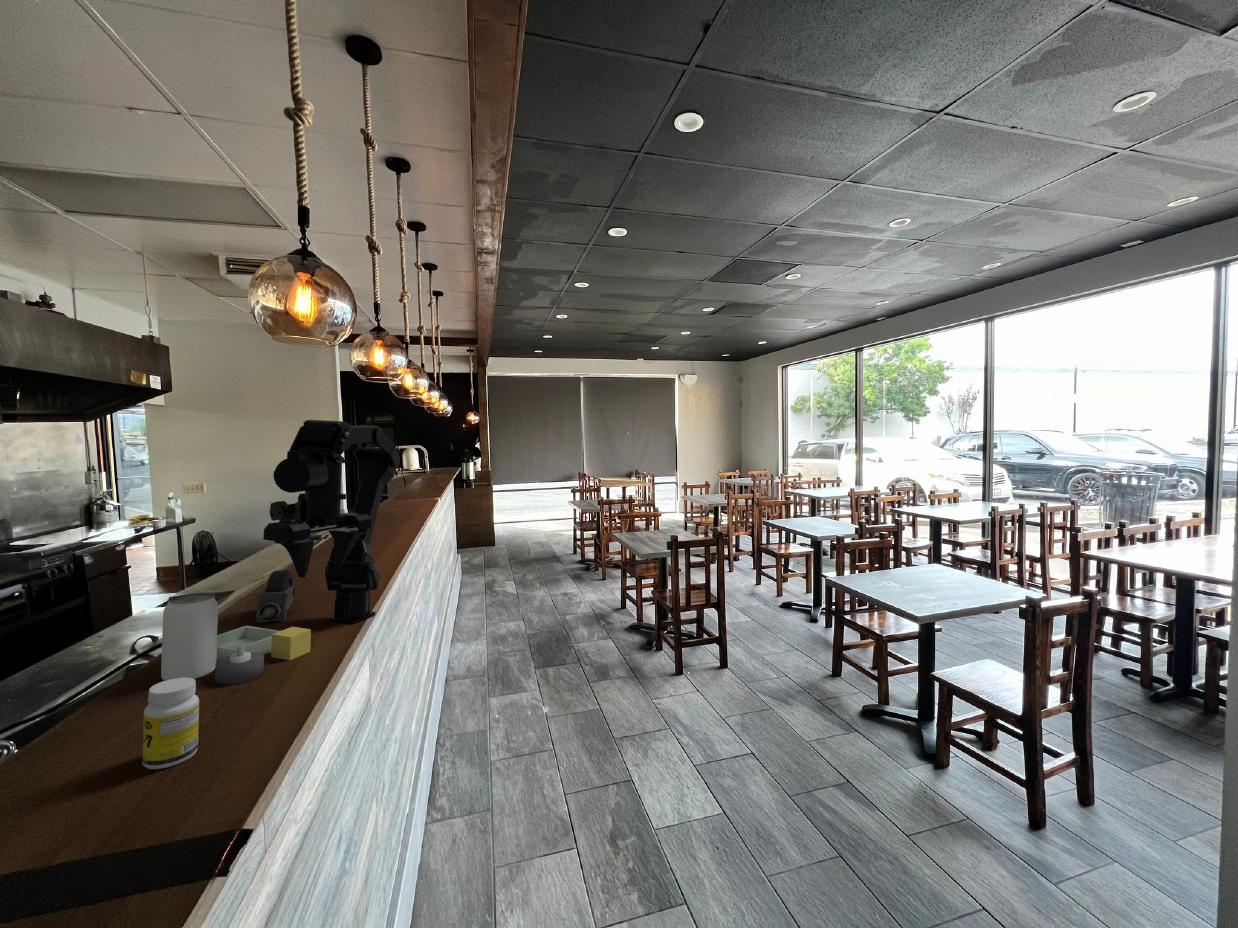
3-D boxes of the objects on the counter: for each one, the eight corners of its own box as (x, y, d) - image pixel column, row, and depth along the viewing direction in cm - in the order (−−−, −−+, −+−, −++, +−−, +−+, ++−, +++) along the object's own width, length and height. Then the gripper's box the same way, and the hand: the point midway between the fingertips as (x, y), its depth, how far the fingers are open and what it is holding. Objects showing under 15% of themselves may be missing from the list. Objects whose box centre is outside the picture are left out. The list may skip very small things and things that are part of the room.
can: (183, 685, 73) (186, 605, 73) (149, 680, 74) (151, 600, 74) (226, 668, 79) (229, 593, 79) (194, 663, 81) (196, 589, 80)
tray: (245, 639, 91) (246, 625, 91) (286, 645, 89) (286, 631, 89) (192, 658, 82) (192, 643, 82) (235, 665, 80) (236, 650, 80)
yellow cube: (291, 648, 88) (292, 626, 88) (310, 651, 87) (310, 629, 87) (271, 657, 84) (271, 634, 84) (290, 660, 83) (290, 637, 83)
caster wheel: (269, 612, 109) (246, 628, 95) (272, 568, 110) (249, 577, 96) (299, 610, 111) (280, 626, 97) (301, 567, 112) (283, 576, 98)
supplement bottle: (141, 755, 56) (143, 683, 56) (195, 740, 60) (198, 671, 60) (142, 776, 53) (144, 698, 53) (199, 759, 56) (202, 685, 56)
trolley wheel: (243, 665, 80) (244, 638, 80) (272, 670, 79) (273, 643, 79) (204, 680, 75) (205, 652, 75) (235, 686, 73) (236, 657, 73)
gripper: (328, 483, 102) (326, 558, 102) (239, 488, 84) (236, 579, 84) (374, 486, 99) (371, 563, 99) (291, 492, 81) (288, 587, 81)
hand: (320, 572), depth 91 cm, fingers open, 8 cm apart
